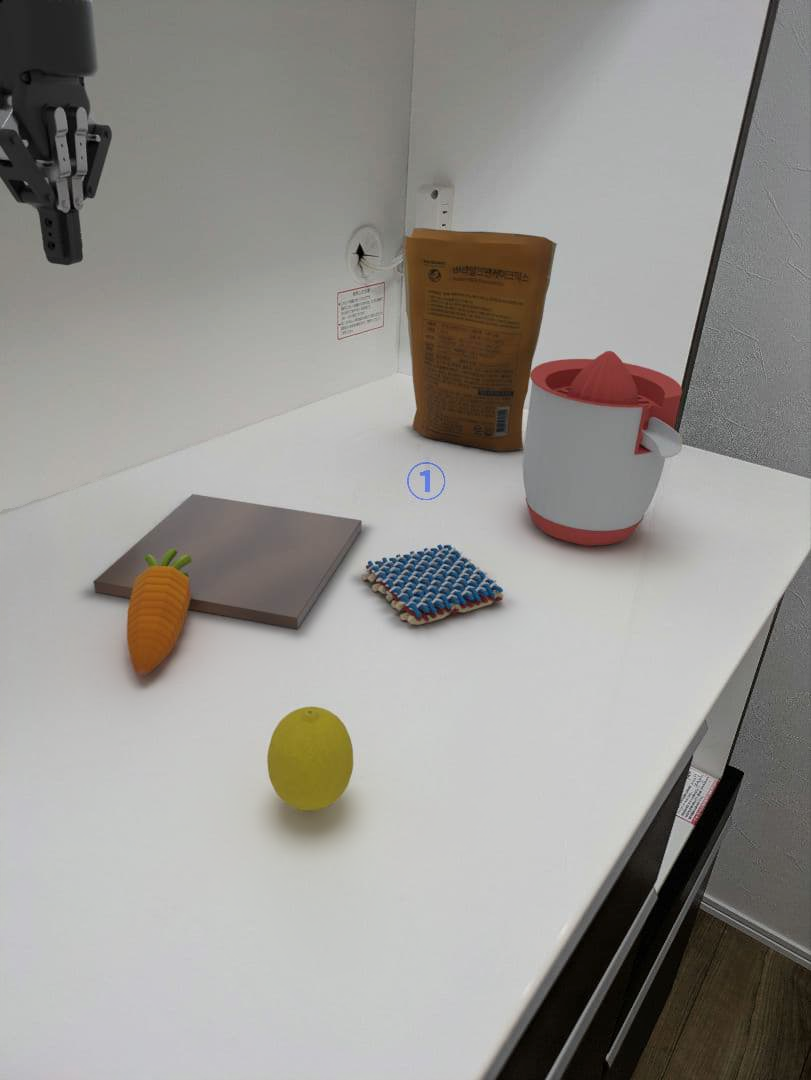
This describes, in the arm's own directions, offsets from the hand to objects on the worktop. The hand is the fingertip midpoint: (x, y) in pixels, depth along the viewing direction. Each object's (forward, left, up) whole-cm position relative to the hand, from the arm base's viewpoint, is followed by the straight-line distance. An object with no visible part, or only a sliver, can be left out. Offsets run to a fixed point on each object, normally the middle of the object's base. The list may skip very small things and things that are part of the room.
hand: (65, 262), depth 63 cm
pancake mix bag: (+24, +50, -30) cm, 63 cm away
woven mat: (+28, +10, -30) cm, 42 cm away
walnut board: (+8, +10, -30) cm, 32 cm away
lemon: (+26, -19, -30) cm, 44 cm away
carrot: (+10, -12, -28) cm, 32 cm away
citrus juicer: (+42, +29, -30) cm, 59 cm away
